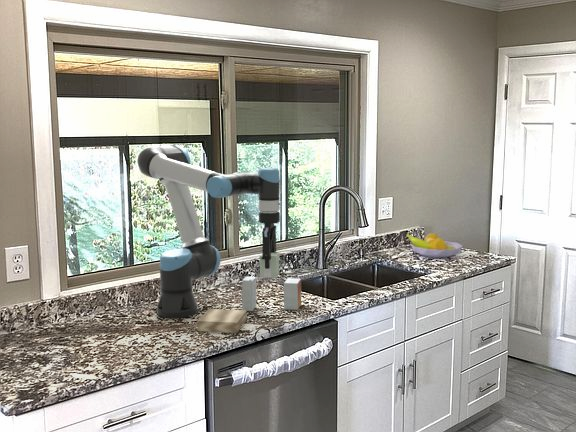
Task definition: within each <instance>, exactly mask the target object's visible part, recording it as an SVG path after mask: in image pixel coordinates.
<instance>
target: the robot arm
mask: <svg viewBox="0 0 576 432" xmlns="http://www.w3.org/2000/svg"><path fill="white" fill-rule="evenodd" d="M136 166H137V169H138V170H139V172H140V173H141V174H143V175H144V176H146V177H148V178H149V177H150V178H152V179H155V180H159V183H160V184H162V185H164V186H165V189H166V192H167V196H168V199H169V202H170V206H171V209H172V213H173V216H174V218H175V222H176V226H177V228H178V232H179V235H180V238H181V242H182V245H181V247H179V248H175V249H174V248H172V249H169V250H166V251H164V252H163V253H161V255H160V256H159V257H160V258H159V275H160V296H159V298H158V302H157V307H156V314H157V315H158V316H160V317H161V318H167V319H168V318H169V319H179V318H187V317H191V316H194V315H195V314H197V313H198V303H197V300H196V297H195V295H194V292H193V281H197V280H200V279H203V278H207V277H209V276H211V275H213V274H215V273H216V272H217V271H219V270H218V269H219V268H220V266H221V259H222V258H221V255H220V252H219V249H217V248H216V246H213V245H211V242H210V240H209V238H206V237H205V235H204V233H203V229H202V226H201V223H200V219H199V217H198V213H197V210H196V209H197V208H196V207H195V204H194V200H193V197H192V194H191V191H190V188H193V189H196V190H200V191H203V192H206V193H208V194H209V196H211V197H212V198H215V199H223V198H228V197H232V196H239V195H244V194H252V195H258V211H259V212H258V222H259V223H260V224H263V225H264V227H263V228H262V232H261V235H262V252H261V254H262V258H261V259H264V277H272V259H271V252H272V253H278V252H277V225H276V224H278V223H280V221H281V220H280V219H281V214H280V207H281V205H282V202H280V199H281V198H280V187H281V185H280V184H281V178H280V177H281V176H280V170H279V169H278V168H275V167H260V168H258V172H257V173H256V172H246V171H245V172H243V171H239V172H238V171H237V172H233V173H232V174H224V173H223V174H222V173H219V172H216V171H212V170H209V169H206V168H202V167H200V166H195V165H193V164H191V157H190V155H189V153H188V151H187V150H186V149H185V148H184V147H182V146H181V145H177V144H176V145H174V144H166V145H149V146H147V147H144V148H143V149H142V150H140V151H139V152H138V154H137V157H136Z"/></svg>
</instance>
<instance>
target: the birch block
mask: <svg viewBox="0 0 576 432" xmlns="http://www.w3.org/2000/svg"><path fill="white" fill-rule="evenodd" d="M247 314H248V313H247V311H246V310H242V309H224V308H222V309H221V308H208V309H207V310H206V311H205V312H204V313H203V315H202V316H201V317H200V318H199V319H198V320H197V321H196V323H197V324H196V326H197V332H211V333H229V334H230V333H231V334H234V333H235V334H237V333H239V331H240V330H241V328H242V327H243V326H244V324H245V323H246V321H247V318H248V317H247Z"/></svg>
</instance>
